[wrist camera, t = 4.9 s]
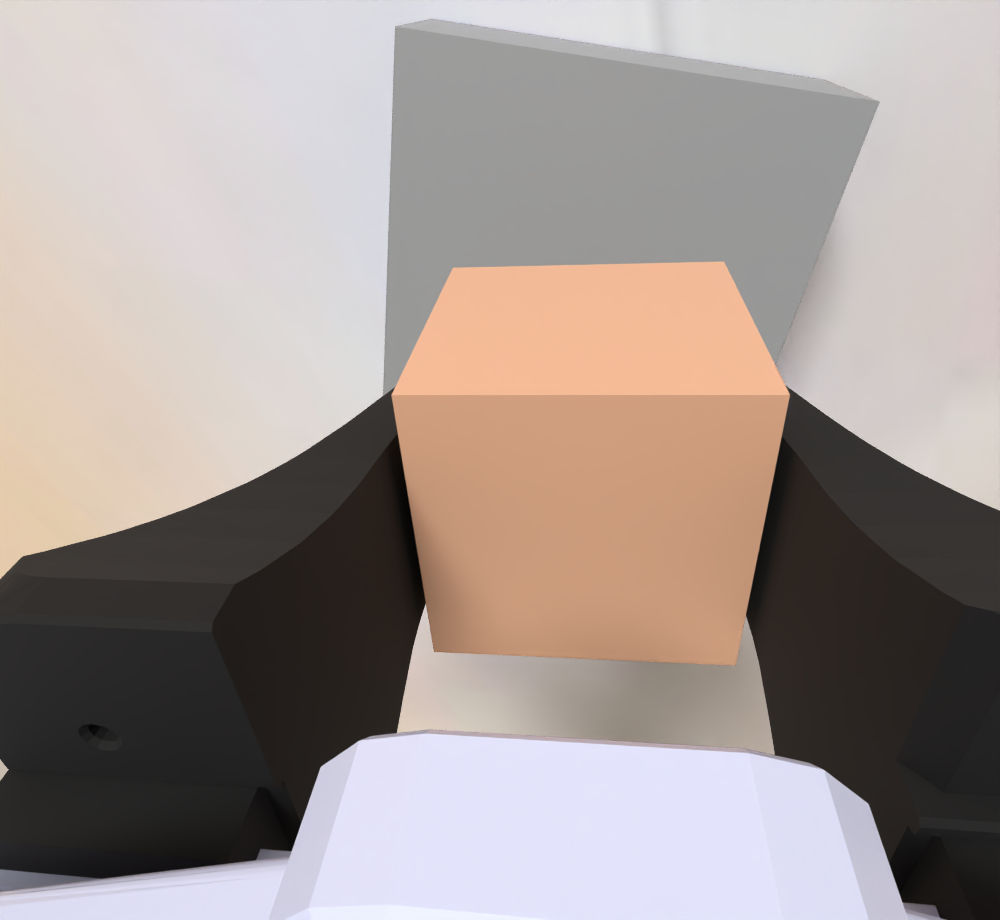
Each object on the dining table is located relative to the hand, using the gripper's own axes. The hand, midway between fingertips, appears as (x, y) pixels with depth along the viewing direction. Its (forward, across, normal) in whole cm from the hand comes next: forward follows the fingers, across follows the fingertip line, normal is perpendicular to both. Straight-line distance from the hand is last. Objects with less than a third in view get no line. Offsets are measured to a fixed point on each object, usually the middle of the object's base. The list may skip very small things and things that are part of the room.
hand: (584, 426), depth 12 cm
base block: (+10, 0, 0) cm, 10 cm away
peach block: (+1, 0, 0) cm, 1 cm away
